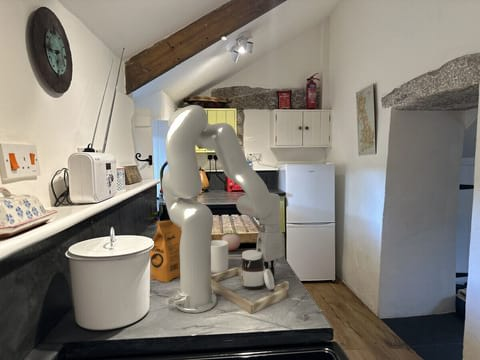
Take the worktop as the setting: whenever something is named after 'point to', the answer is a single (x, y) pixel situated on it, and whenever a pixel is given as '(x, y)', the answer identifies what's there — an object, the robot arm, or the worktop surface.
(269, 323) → the worktop surface
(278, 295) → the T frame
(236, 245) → the decorative fruit
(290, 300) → the worktop surface
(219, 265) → the mug
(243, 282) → the spread jar
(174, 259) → the coffee package
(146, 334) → the worktop surface
